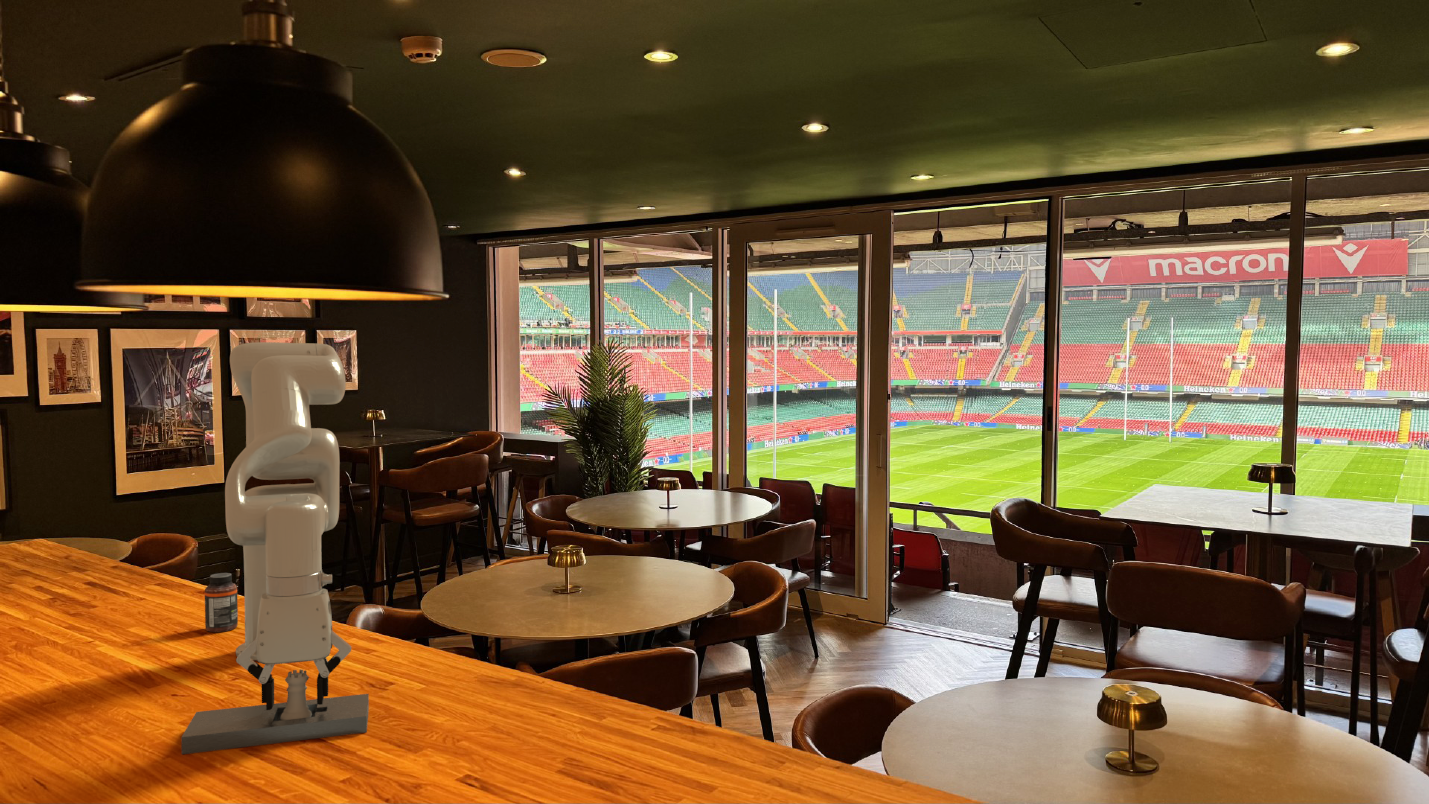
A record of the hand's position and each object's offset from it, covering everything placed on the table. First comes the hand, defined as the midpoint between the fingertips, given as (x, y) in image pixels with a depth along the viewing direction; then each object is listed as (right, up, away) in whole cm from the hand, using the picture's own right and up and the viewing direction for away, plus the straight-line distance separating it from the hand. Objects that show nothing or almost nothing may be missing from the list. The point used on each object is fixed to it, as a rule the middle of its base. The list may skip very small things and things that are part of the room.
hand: (295, 703), depth 135 cm
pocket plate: (-2, -4, -1) cm, 4 cm away
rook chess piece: (0, -4, 0) cm, 4 cm away
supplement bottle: (-39, -2, +52) cm, 66 cm away
